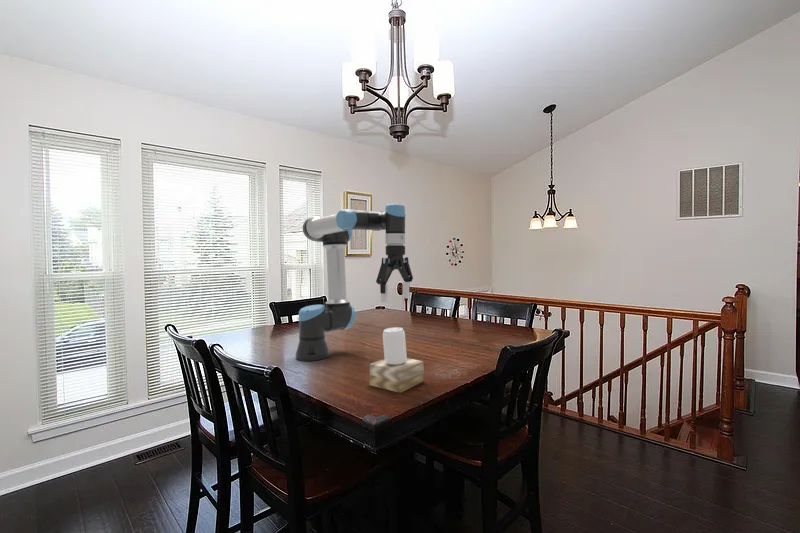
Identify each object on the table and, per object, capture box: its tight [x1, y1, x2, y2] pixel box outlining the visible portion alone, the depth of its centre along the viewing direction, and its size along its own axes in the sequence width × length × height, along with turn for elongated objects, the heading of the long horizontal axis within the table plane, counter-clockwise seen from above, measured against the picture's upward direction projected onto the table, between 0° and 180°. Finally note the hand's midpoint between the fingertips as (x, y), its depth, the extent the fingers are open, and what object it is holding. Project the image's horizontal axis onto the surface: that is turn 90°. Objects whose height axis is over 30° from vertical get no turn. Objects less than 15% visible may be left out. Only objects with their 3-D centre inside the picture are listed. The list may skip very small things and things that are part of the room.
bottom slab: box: [368, 372, 424, 394], centre depth 141 cm, size 14×14×4 cm
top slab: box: [369, 357, 425, 382], centre depth 141 cm, size 14×14×4 cm
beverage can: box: [382, 326, 408, 365], centre depth 140 cm, size 8×8×12 cm
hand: (395, 300), depth 149 cm, fingers open, 13 cm apart
